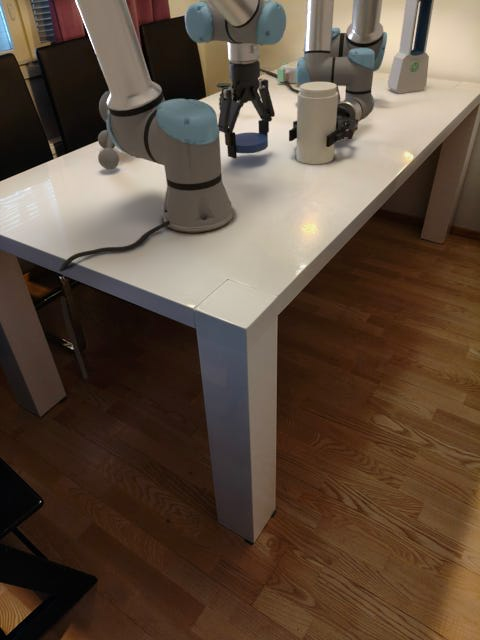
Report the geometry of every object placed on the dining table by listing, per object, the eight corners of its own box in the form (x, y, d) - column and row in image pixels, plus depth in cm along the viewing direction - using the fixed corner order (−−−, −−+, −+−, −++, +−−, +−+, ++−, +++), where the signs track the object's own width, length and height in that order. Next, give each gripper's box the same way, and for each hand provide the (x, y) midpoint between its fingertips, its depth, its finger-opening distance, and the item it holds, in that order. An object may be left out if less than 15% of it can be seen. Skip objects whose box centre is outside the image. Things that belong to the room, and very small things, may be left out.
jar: (289, 161, 132) (291, 88, 121) (305, 149, 139) (308, 79, 128) (324, 166, 128) (329, 92, 117) (339, 154, 134) (344, 82, 123)
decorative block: (300, 55, 216) (341, 58, 206) (299, 71, 220) (340, 74, 210) (268, 66, 200) (311, 70, 190) (268, 83, 204) (310, 87, 194)
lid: (275, 146, 130) (275, 139, 128) (242, 156, 125) (242, 148, 124) (252, 137, 137) (252, 129, 136) (220, 146, 132) (220, 138, 131)
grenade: (217, 117, 168) (214, 86, 162) (221, 112, 172) (219, 82, 166) (235, 117, 166) (233, 86, 160) (239, 113, 171) (238, 82, 165)
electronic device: (396, 93, 181) (409, -3, 162) (386, 89, 187) (397, -4, 168) (425, 90, 183) (442, -6, 165) (415, 85, 189) (429, -7, 170)
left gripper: (217, 71, 110) (224, 166, 124) (288, 54, 122) (288, 142, 135) (197, 67, 115) (206, 160, 128) (267, 51, 126) (269, 137, 140)
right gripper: (379, 134, 138) (348, 159, 124) (308, 124, 148) (271, 147, 134) (383, 106, 133) (351, 129, 119) (308, 98, 144) (270, 118, 130)
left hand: (248, 151), depth 132 cm, fingers closed on lid, 11 cm apart
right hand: (308, 138), depth 127 cm, fingers closed on jar, 10 cm apart
